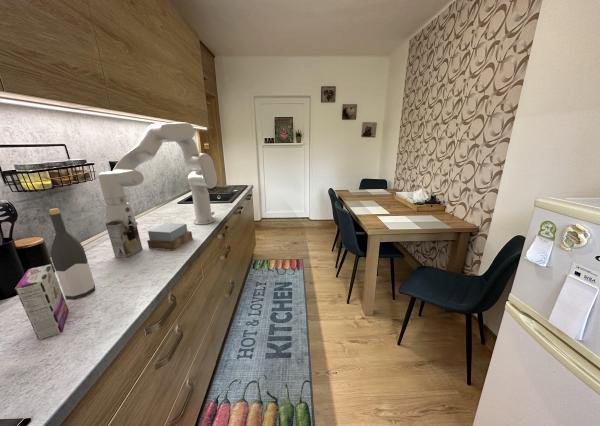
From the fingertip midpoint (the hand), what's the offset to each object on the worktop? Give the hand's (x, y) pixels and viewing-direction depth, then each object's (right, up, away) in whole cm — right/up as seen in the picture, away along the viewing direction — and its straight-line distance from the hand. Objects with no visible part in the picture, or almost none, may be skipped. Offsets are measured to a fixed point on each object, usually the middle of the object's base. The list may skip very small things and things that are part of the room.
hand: (125, 238), depth 110 cm
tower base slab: (+15, -4, +12) cm, 19 cm away
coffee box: (0, -7, +2) cm, 7 cm away
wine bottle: (+4, -16, -27) cm, 32 cm away
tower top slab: (+14, 0, +11) cm, 18 cm away
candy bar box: (+10, -20, -41) cm, 47 cm away
